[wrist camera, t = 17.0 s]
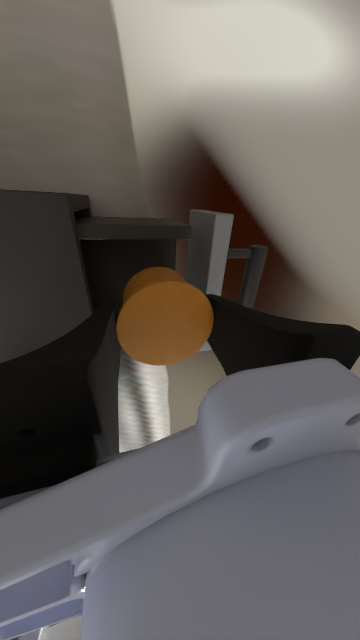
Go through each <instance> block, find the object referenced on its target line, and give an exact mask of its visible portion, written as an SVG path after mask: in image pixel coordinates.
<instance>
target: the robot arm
mask: <svg viewBox="0 0 360 640" xmlns="http://www.w3.org/2000/svg"><path fill="white" fill-rule="evenodd" d="M204 295H205V296H206V297H207V298H208V300H209V301H210V304H211V306H212V309H213V314H214V322H213V328H212V331H211V334H210V336H209V338H208V339H207V342H208V343H209V345H210V347H211V348H212V350H213V351H214V353H215V355H216V356H217V358H218V360H219V361H220V363H221V365H222V367H223V368H224V371H225V373H226V375H227V376H225V377H223V378H222V379H220V380H219V381H218V382H217V383H215V384H214V385H213V386H212V387H211V388H209V389H208V391H207V392H206V394H205V396H204V398H203V400H202V402H201V404H200V406H199V410H198V416H197V422H196V425H194V426H191V427H188V428H186V429H184V430H182V431H179V432H177V433H175V434H172V435H170V436H168V437H165V438H163V439H161V440H158V441H156V442H154V443H151V444H149V445H147V446H145V447H142V448H139V449H135V450H130V451H126V452H122V453H119V428H118V375H119V366H120V356H121V345H120V343H119V341H118V337H117V330H116V321H117V316H118V305H117V300H108V301H104V302H103V303H102V304H101V305H100V306H99V307H98V308H97V309H96V310H95V311H94V312H93V313H92V314H91V315H90V316H89V317H88V318H87V319H85V320H84V321H83V322H82V323H81V324H80V325H78V326H77V327H76V328H74V329H73V330H71V331H70V332H68V333H67V334H65V335H63V336H62V337H60V338H58V339H56V340H54V341H52V342H51V343H49V344H47V345H45V346H43V347H41V348H38V349H36V350H34V351H32V352H29V353H27V354H24V355H22V356H19V357H17V358H14V359H11V360H8V361H6V362H3V363H0V640H39V638H40V635H41V632H42V629H43V628H44V627H47V626H50V625H53V624H56V623H59V622H61V621H64V620H67V619H70V618H73V617H76V616H79V615H82V623H81V634H80V640H360V378H359V377H358V376H356V375H355V374H354V373H352V372H351V371H350V369H351V368H352V366H353V365H354V363H355V362H356V360H357V359H358V357H359V356H360V331H358V330H356V329H355V328H353V327H351V326H348V325H340V324H325V323H324V324H323V323H314V322H306V321H299V320H292V319H288V318H283V317H278V316H274V315H270V314H266V313H263V312H259V311H256V310H253V309H251V308H248V307H245V306H243V305H240V304H238V303H235V302H233V301H230V300H228V299H226V298H223V297H221V296H218V295H215V294H204Z"/></svg>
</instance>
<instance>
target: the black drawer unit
mask: <svg viewBox="0 0 360 640" xmlns="http://www.w3.org/2000/svg"><path fill="white" fill-rule="evenodd" d="M75 216H92V215H91V209H90V202H89V196H88V195H80V194H69V193H54V192H36V191H19V190H1V189H0V363H3V362H6V361H8V360H11V359H14V358H17V357H19V356H22V355H24V354H27V353H29V352H32V351H34V350H36V349H38V348H41V347H43V346H45V345H47V344H49V343H51V342H52V341H54V340H56V339H58V338H60V337H62V336H63V335H65V334H67V333H68V332H70V331H71V330H73V329H74V328H76V327H77V326H78V325H80V324H81V323H82V322H83V321H84V320H85V319H87V318H88V317H89V316H90V315H91V314H92V313H93V312H94V309H93V304H92V299H91V294H90V290H89V285H88V280H87V275H86V270H85V265H84V260H83V255H82V250H81V245H80V240H79V235H78V230H77V226H76V221H75Z"/></svg>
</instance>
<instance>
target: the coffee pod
mask: <svg viewBox="0 0 360 640" xmlns="http://www.w3.org/2000/svg"><path fill="white" fill-rule="evenodd" d="M213 322H214V314H213V309H212V306H211V304H210V301H209V300H208V298H207V297H206V296H205V295H204V294H203V292H202V291H201V290H199V289H198V288H197V287H195V286H193V285H192V284H189V283H187V281H186V280H185V279H184V278H183V277H182V276H181V275H180V274H179V273H178V272H176V271H174V270H172V269H170V268H166V267H151V268H147V269H144V270H142V271H140V272H138V273H137V274H136V275H134V276H133V277H132V278H131V279H130V280H129V282H128V283H127V285H126V287H125V289H124V292H123V299H122V307H121V308H120V310H119V313H118V316H117V321H116V330H117V337H118V341H119V343H120V345H121V347H122V348H123V350H124V351H125V352H126V353H127V354H128V355H129V356H131V357H132V358H134V359H135V360H137V361H139V362H142V363H145V364H150V365H169V364H174V363H177V362H180V361H182V360H185V359H186V358H188V357H190V356H192V355H193V354H194V353H196V352H197V351H198V350H199V349H200V348H201V347H202V346H203V345H204V344H205V342H206V341H207V339H208V338H209V336H210V334H211V331H212V328H213Z"/></svg>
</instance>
